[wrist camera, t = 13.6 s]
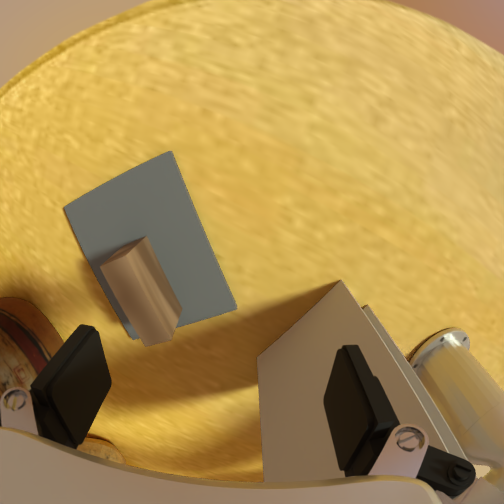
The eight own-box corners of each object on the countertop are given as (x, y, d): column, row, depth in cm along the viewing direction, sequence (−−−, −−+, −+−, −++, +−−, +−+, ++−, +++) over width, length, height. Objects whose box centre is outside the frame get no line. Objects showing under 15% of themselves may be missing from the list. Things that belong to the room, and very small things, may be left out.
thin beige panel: (287, 377, 36) (321, 598, 8) (256, 357, 35) (270, 605, 7) (368, 305, 33) (500, 527, 5) (341, 279, 32) (488, 540, 4)
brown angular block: (146, 235, 29) (125, 255, 23) (182, 308, 32) (171, 340, 26) (123, 245, 29) (99, 266, 23) (159, 315, 32) (145, 346, 26)
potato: (135, 462, 45) (126, 497, 36) (75, 443, 44) (62, 474, 35) (129, 439, 42) (116, 479, 33) (63, 418, 41) (46, 451, 32)
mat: (237, 305, 33) (236, 309, 32) (134, 336, 34) (132, 340, 33) (171, 150, 27) (169, 150, 26) (67, 205, 28) (63, 207, 27)
